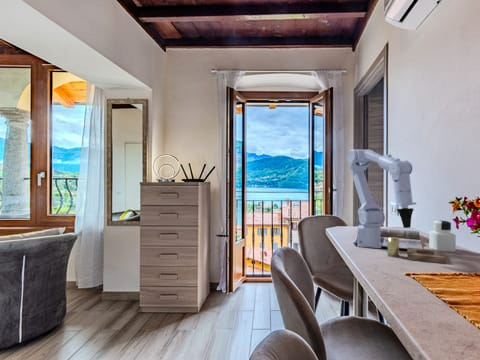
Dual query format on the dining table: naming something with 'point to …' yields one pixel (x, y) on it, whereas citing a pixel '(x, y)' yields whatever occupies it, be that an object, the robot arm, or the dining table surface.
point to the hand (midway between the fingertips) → (406, 227)
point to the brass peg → (393, 246)
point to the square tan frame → (426, 255)
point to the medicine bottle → (442, 237)
